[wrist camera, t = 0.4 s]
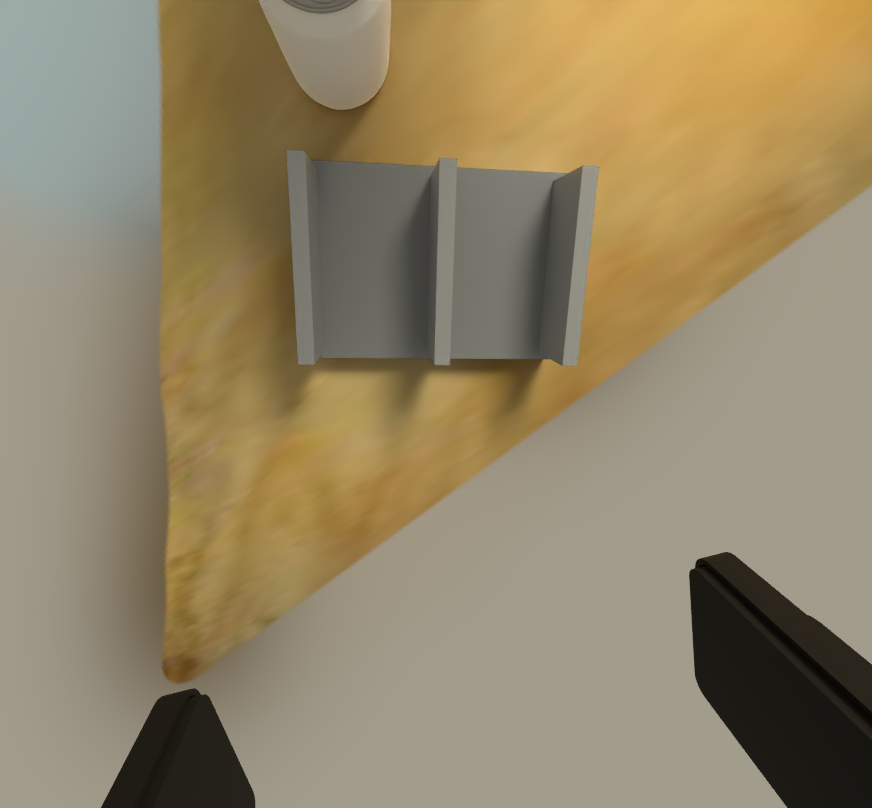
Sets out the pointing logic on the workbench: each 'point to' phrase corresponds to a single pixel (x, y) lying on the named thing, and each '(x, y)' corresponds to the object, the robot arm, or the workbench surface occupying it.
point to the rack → (438, 260)
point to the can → (334, 46)
